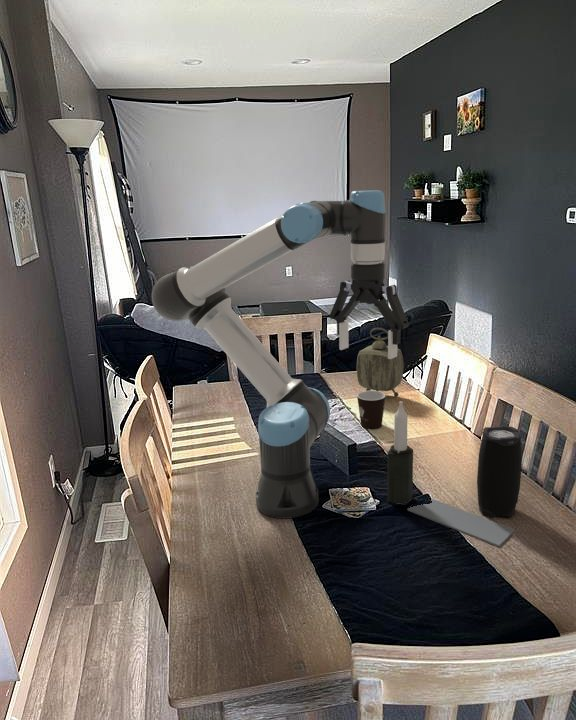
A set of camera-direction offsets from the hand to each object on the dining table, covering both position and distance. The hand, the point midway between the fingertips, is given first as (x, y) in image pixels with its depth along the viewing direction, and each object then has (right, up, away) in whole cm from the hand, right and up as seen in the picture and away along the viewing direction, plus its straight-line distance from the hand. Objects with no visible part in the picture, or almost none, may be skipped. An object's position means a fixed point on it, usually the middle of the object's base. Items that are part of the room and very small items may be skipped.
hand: (367, 353), depth 138 cm
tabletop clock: (+13, -15, +69) cm, 72 cm away
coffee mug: (+7, -22, +47) cm, 52 cm away
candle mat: (+19, -37, -7) cm, 43 cm away
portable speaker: (+29, -36, -4) cm, 46 cm away
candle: (+8, -35, +2) cm, 36 cm away
